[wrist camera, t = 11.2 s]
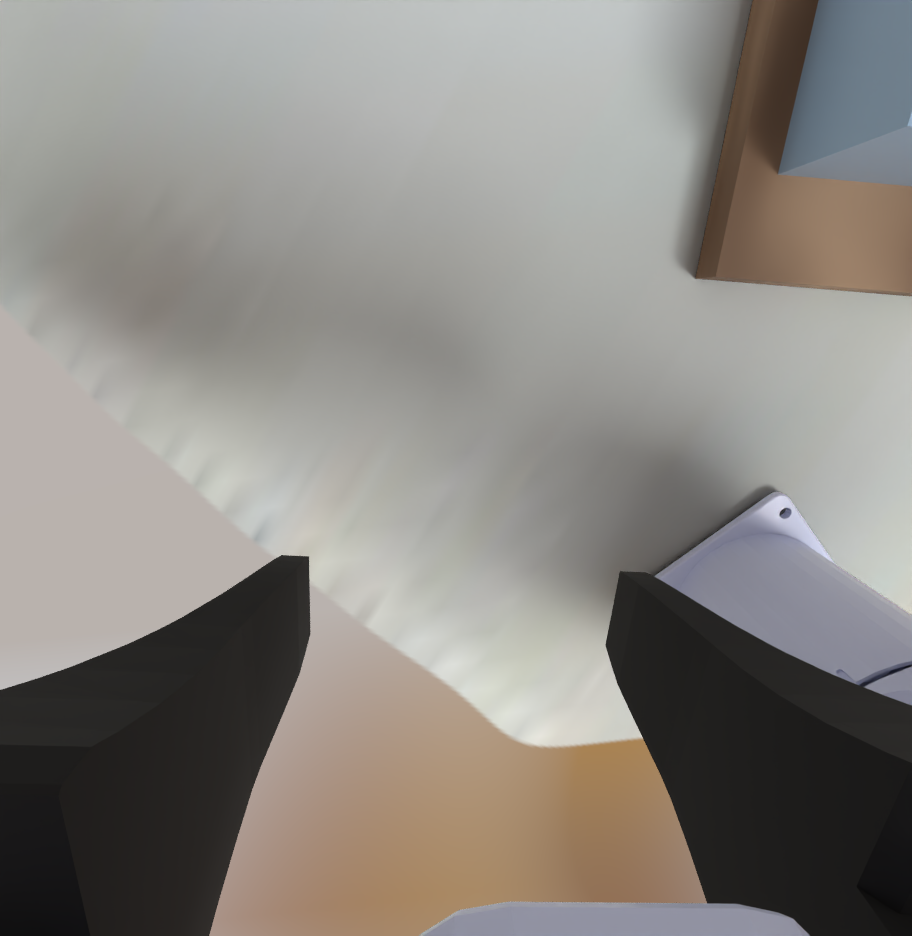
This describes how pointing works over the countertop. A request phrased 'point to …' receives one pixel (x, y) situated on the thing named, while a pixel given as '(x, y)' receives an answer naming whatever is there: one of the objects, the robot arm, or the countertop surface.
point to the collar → (855, 95)
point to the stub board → (795, 185)
